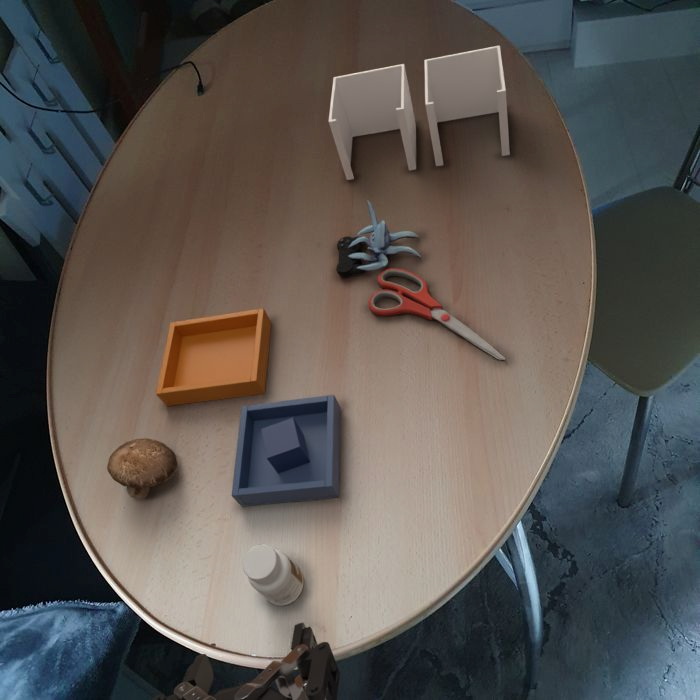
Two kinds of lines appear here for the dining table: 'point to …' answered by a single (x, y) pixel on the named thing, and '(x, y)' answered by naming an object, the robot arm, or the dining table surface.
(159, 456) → the mushroom
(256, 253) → the dining table surface
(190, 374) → the amber tray
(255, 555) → the pill bottle
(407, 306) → the scissors
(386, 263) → the figurine
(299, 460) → the blue block
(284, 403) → the blue tray
